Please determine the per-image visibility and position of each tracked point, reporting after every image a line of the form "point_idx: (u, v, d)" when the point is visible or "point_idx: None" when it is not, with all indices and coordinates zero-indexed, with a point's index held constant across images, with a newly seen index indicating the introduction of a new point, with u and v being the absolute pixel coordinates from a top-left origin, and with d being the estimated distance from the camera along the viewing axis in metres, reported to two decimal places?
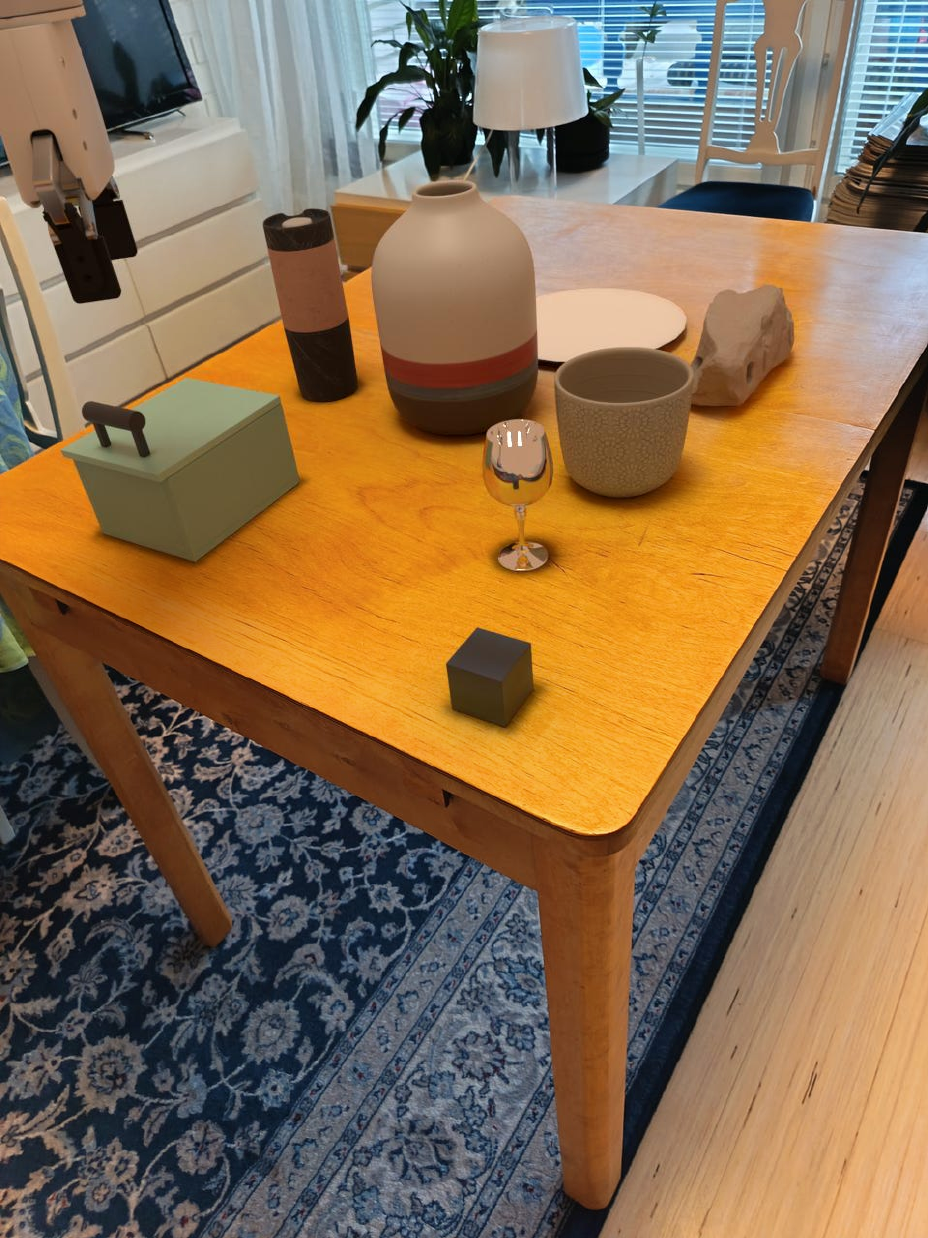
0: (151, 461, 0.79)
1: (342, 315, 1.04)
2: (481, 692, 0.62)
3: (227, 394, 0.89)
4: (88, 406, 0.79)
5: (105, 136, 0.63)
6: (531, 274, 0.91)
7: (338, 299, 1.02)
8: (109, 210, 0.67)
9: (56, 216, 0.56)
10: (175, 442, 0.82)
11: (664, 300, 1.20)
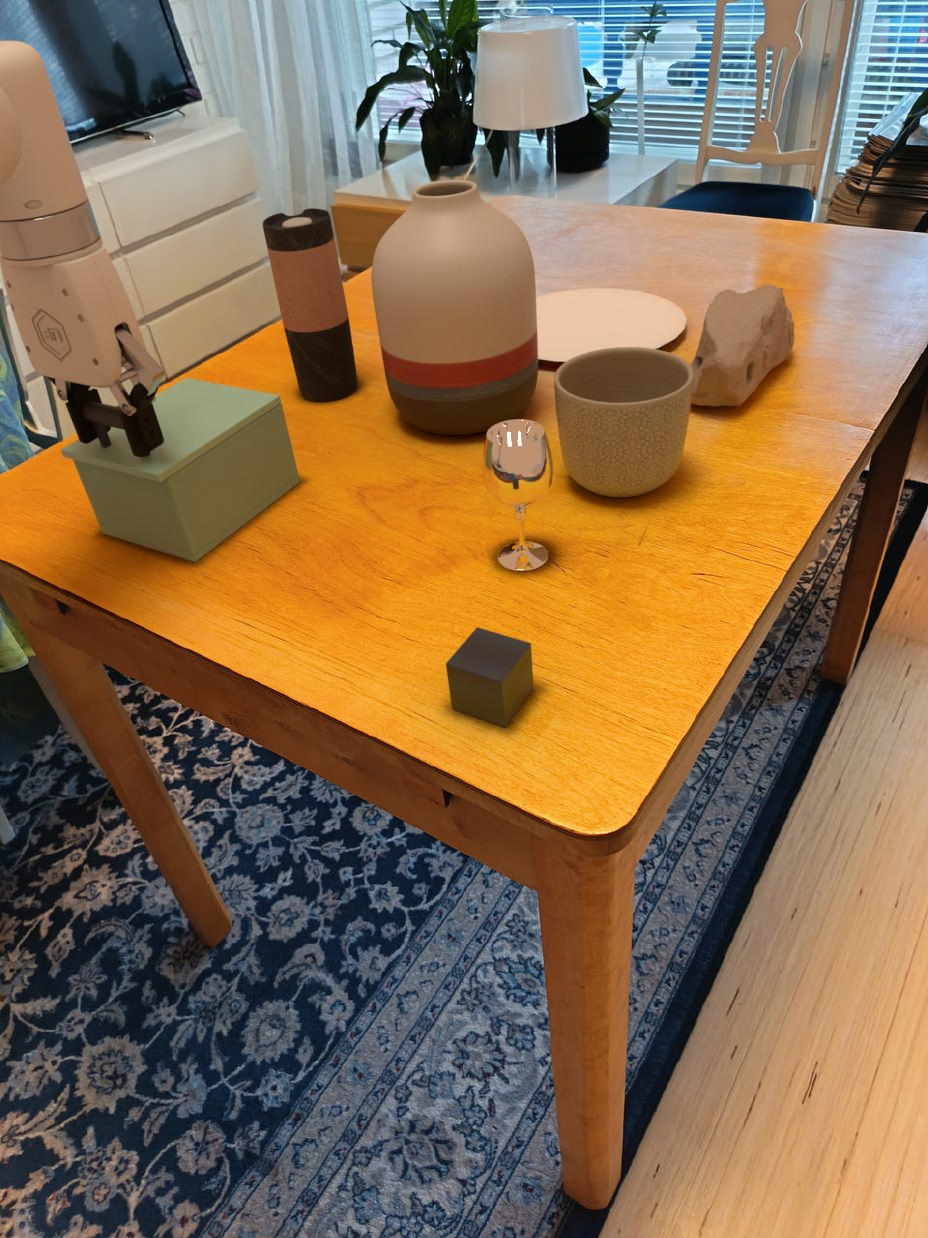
0: (151, 461, 0.79)
1: (342, 315, 1.04)
2: (481, 692, 0.62)
3: (227, 394, 0.89)
4: (88, 406, 0.79)
5: None
6: (531, 274, 0.91)
7: (337, 299, 1.02)
8: (91, 399, 0.80)
9: None
10: (175, 442, 0.82)
11: (664, 300, 1.20)
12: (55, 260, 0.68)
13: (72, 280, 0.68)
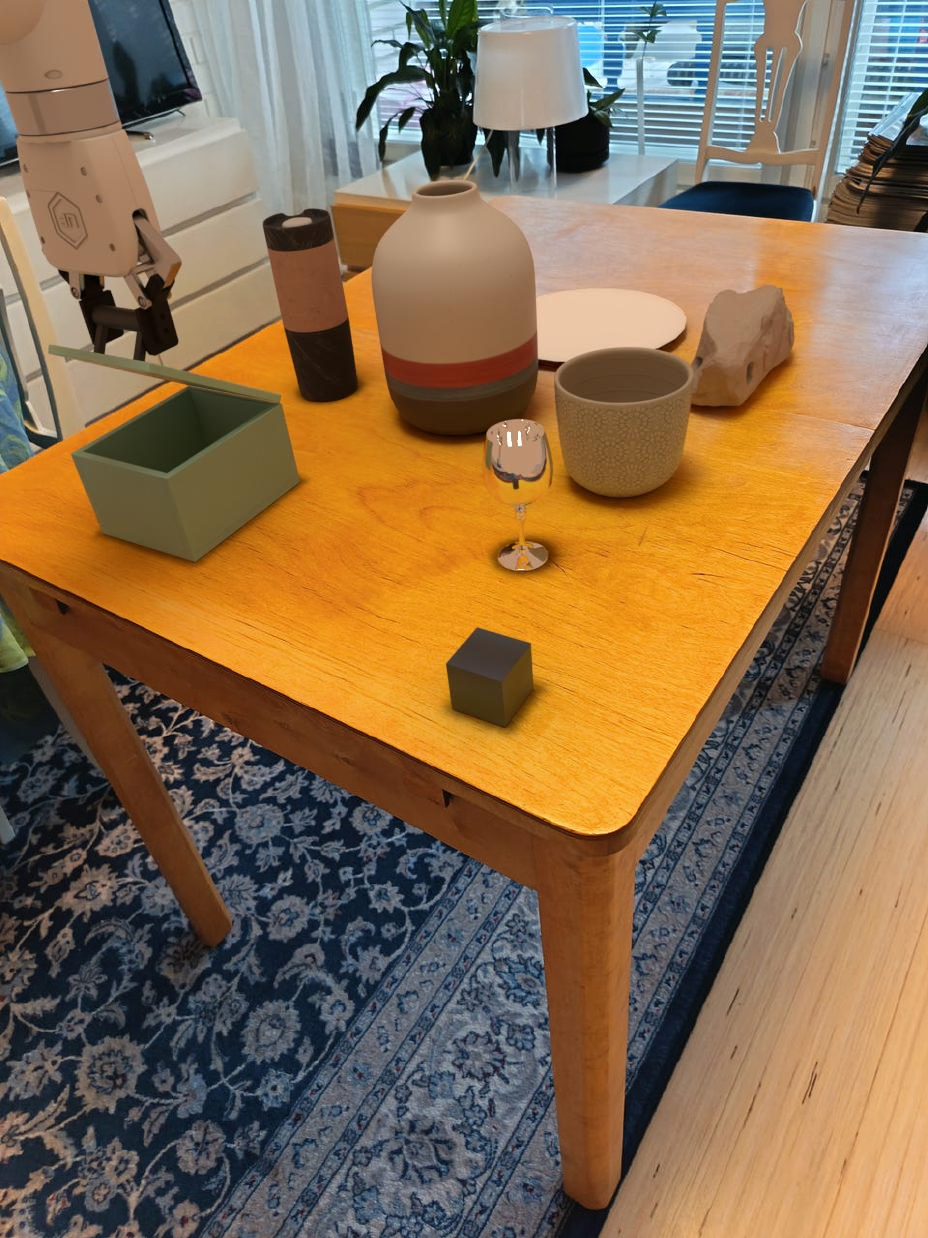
0: None
1: (342, 315, 1.04)
2: (481, 692, 0.62)
3: None
4: (101, 305, 0.78)
5: None
6: (531, 274, 0.91)
7: (338, 299, 1.02)
8: (105, 299, 0.79)
9: (167, 280, 0.73)
10: None
11: (664, 300, 1.20)
12: (74, 136, 0.66)
13: (91, 157, 0.67)
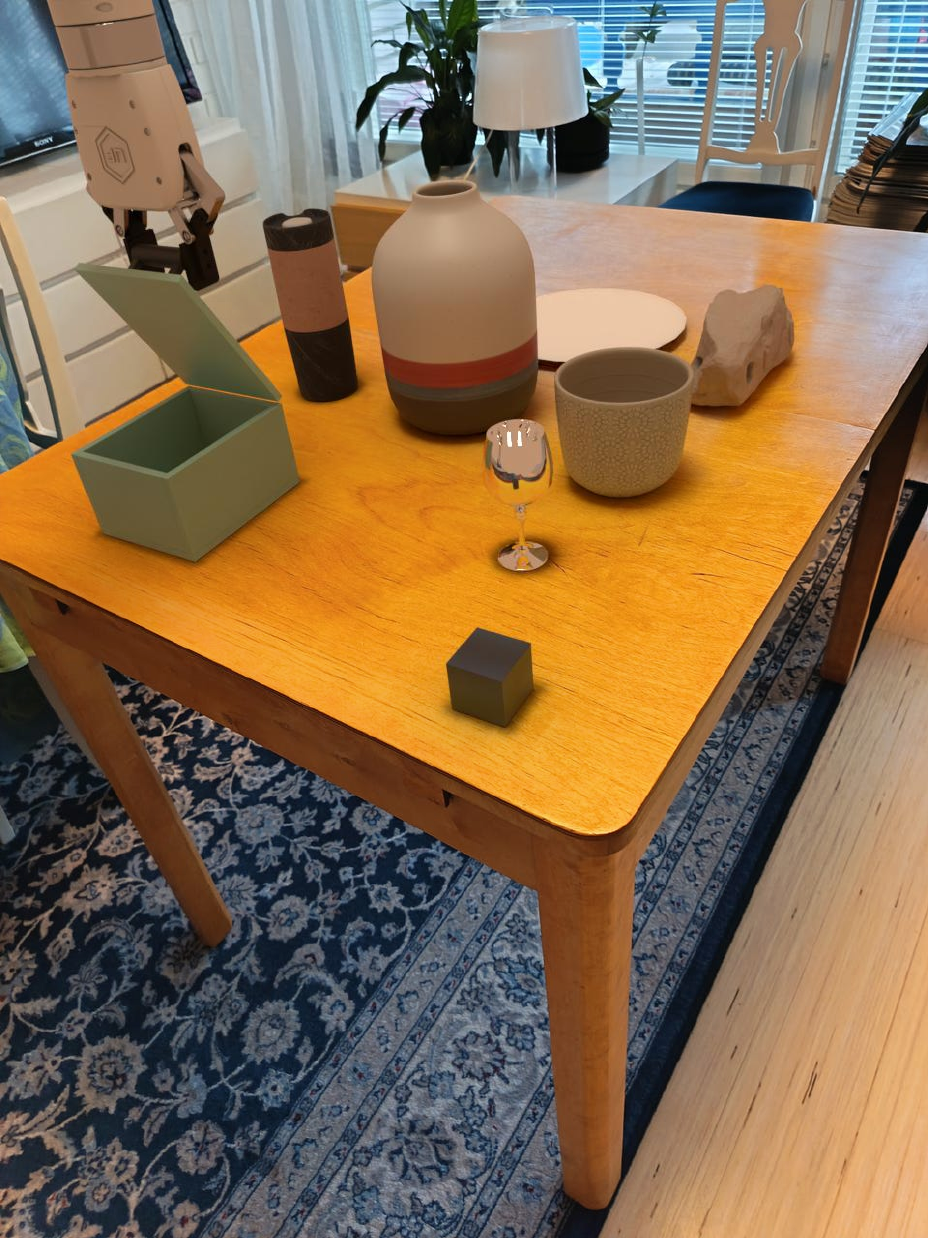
0: None
1: (342, 315, 1.04)
2: (481, 692, 0.62)
3: None
4: None
5: None
6: (531, 274, 0.91)
7: (338, 299, 1.02)
8: (147, 237, 0.81)
9: (210, 214, 0.75)
10: None
11: (664, 300, 1.20)
12: (123, 69, 0.68)
13: (140, 90, 0.69)
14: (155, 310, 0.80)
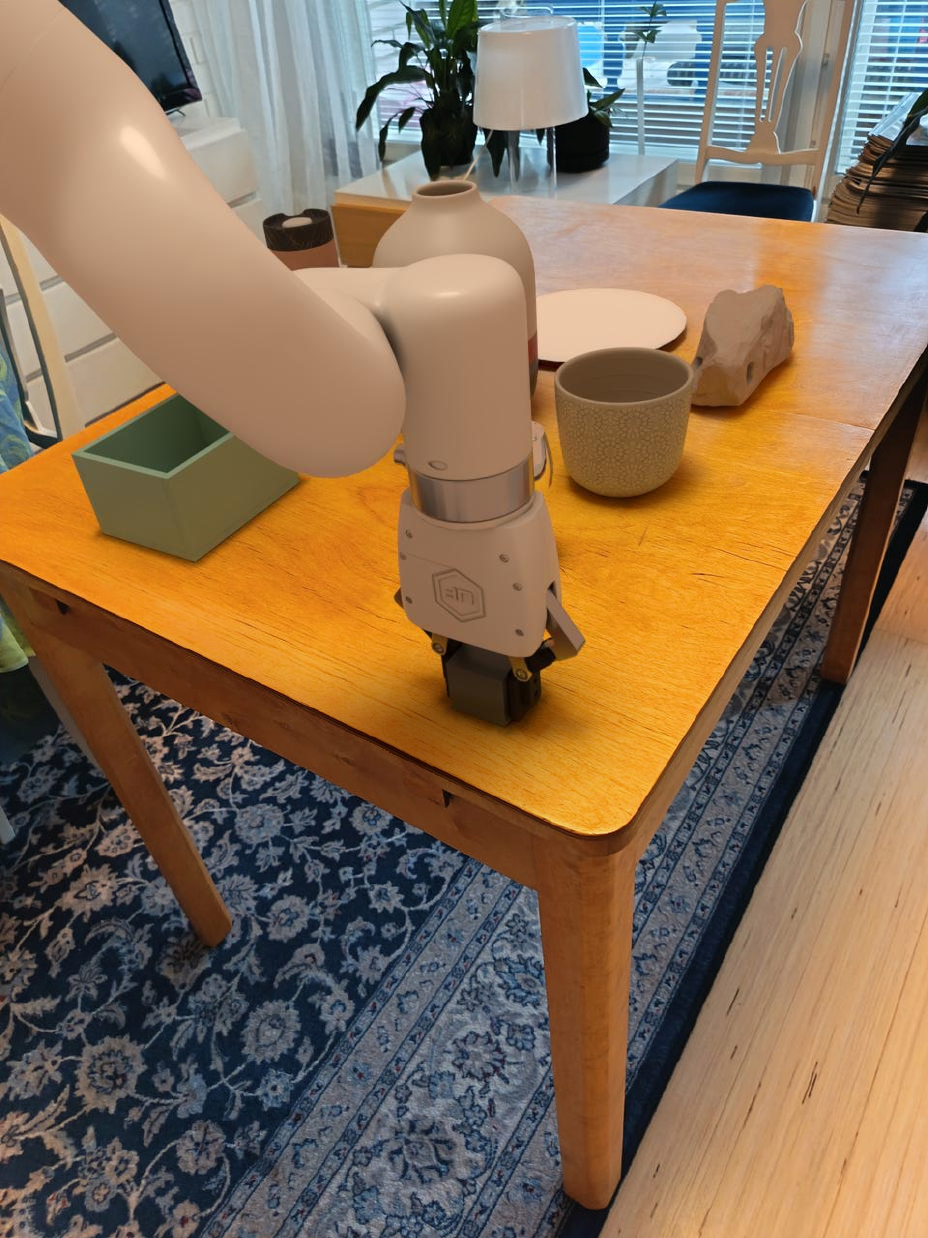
0: None
1: None
2: (481, 692, 0.62)
3: None
4: None
5: None
6: (531, 274, 0.91)
7: None
8: None
9: None
10: None
11: (664, 300, 1.20)
12: (499, 521, 0.52)
13: (518, 546, 0.53)
14: None
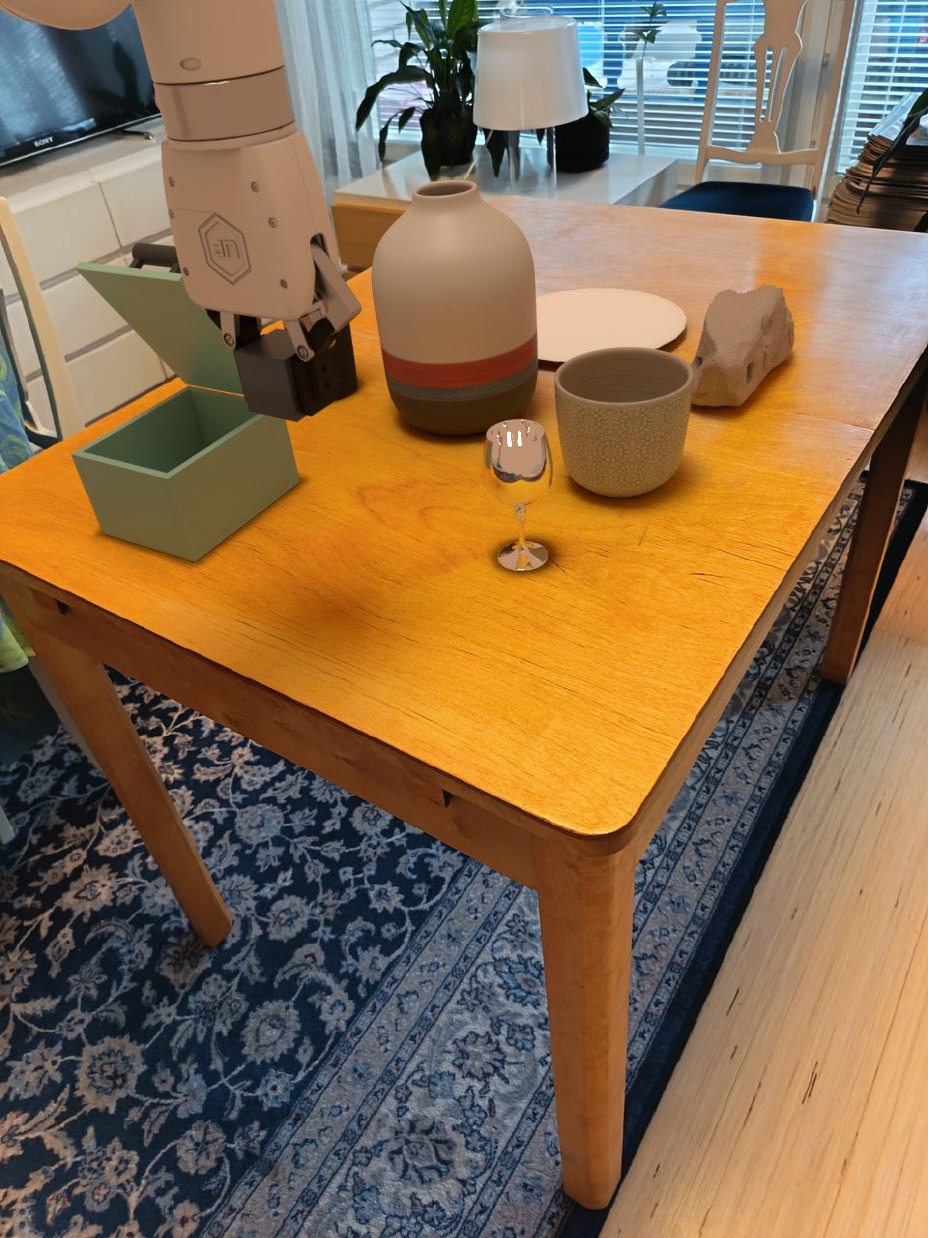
0: None
1: None
2: (269, 379, 0.61)
3: None
4: (145, 243, 0.80)
5: None
6: (531, 274, 0.91)
7: None
8: None
9: None
10: None
11: (664, 300, 1.20)
12: (245, 141, 0.50)
13: (267, 169, 0.51)
14: (155, 309, 0.80)
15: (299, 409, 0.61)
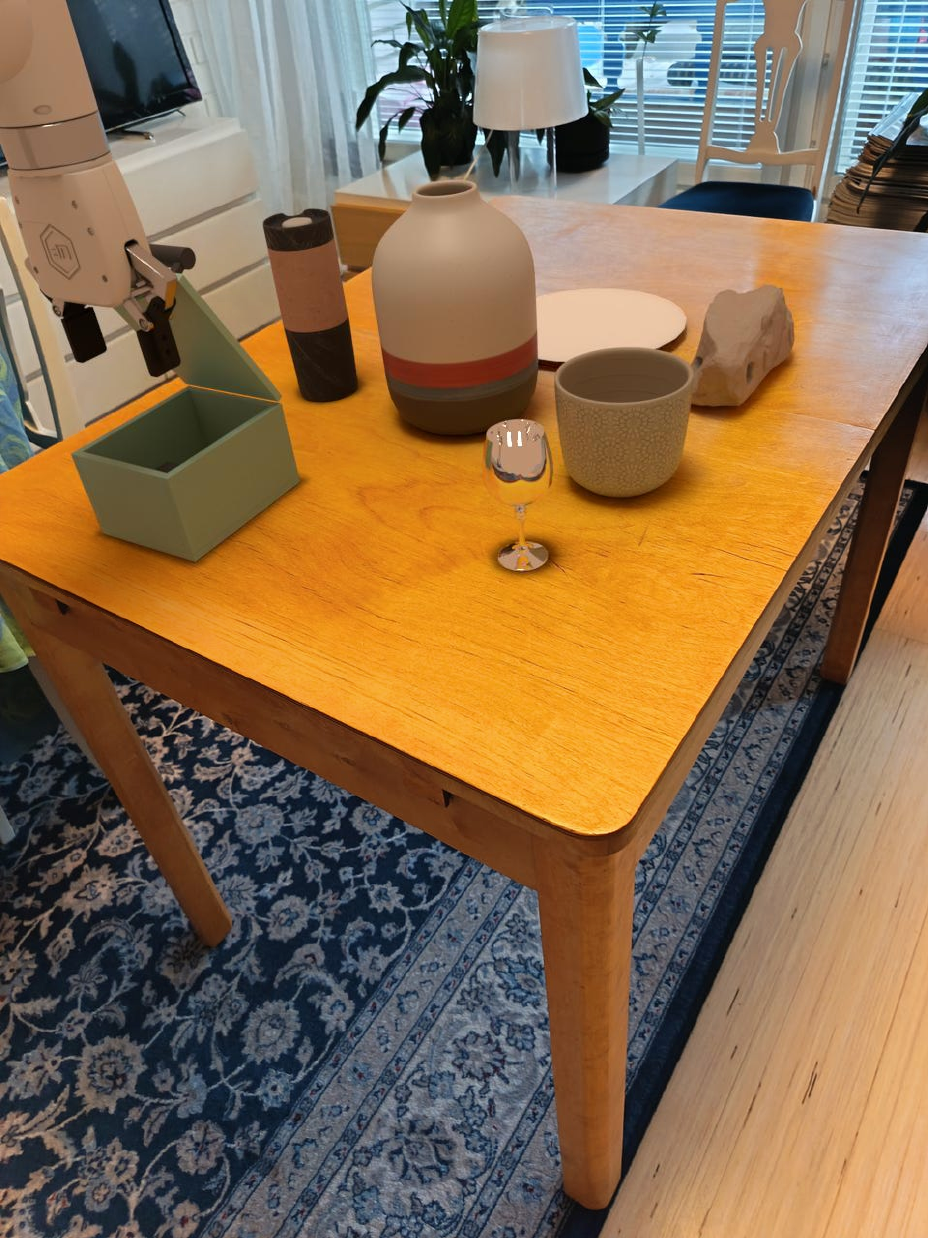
0: None
1: (342, 315, 1.04)
2: None
3: None
4: None
5: None
6: (531, 274, 0.91)
7: (338, 299, 1.02)
8: (87, 316, 0.79)
9: (168, 302, 0.72)
10: None
11: (664, 300, 1.20)
12: (64, 170, 0.66)
13: (82, 191, 0.67)
14: None
15: None
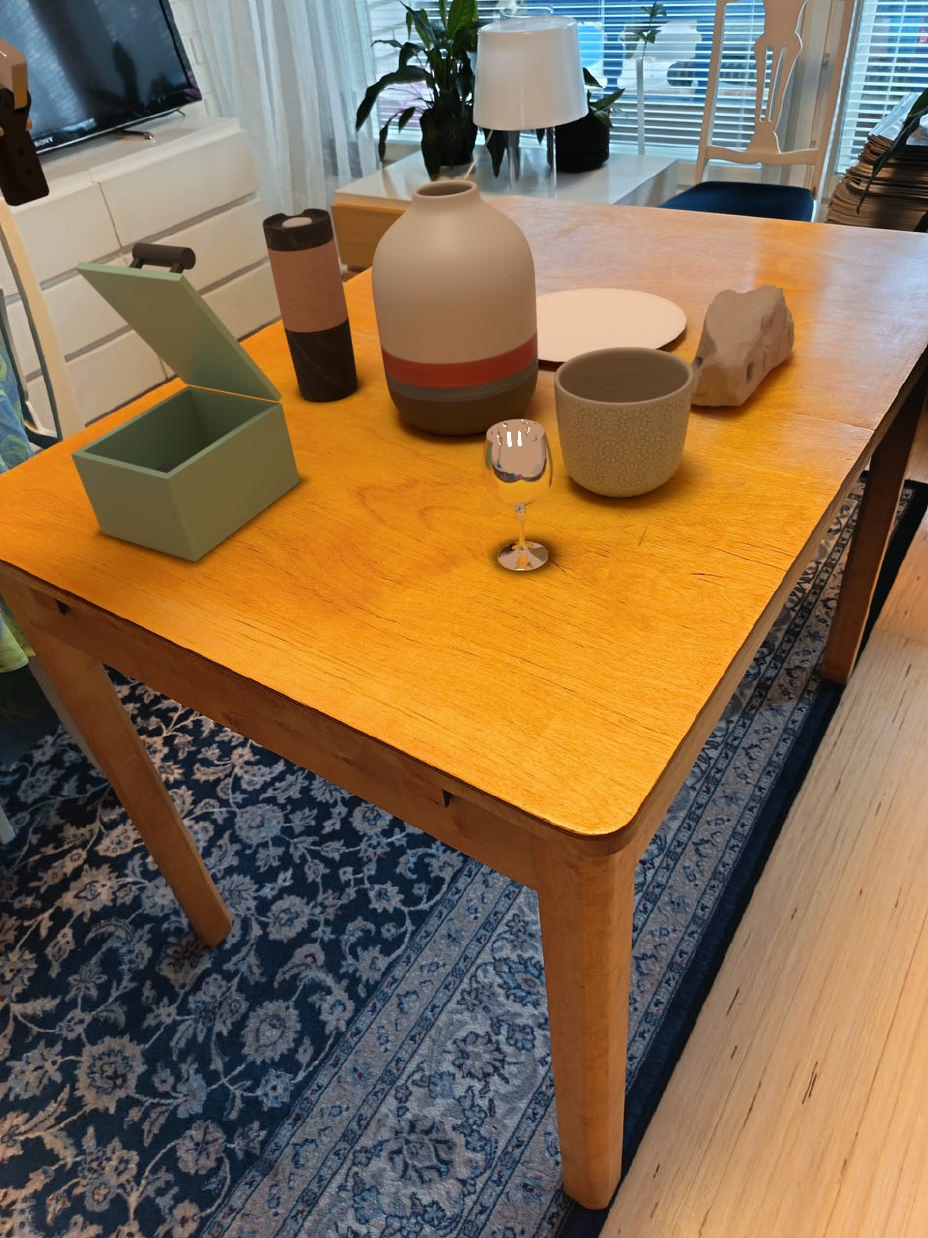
0: None
1: (342, 315, 1.04)
2: None
3: None
4: (145, 243, 0.80)
5: None
6: (531, 274, 0.91)
7: (337, 299, 1.02)
8: None
9: (19, 97, 0.56)
10: None
11: (664, 300, 1.20)
12: None
13: None
14: (155, 309, 0.80)
15: None
